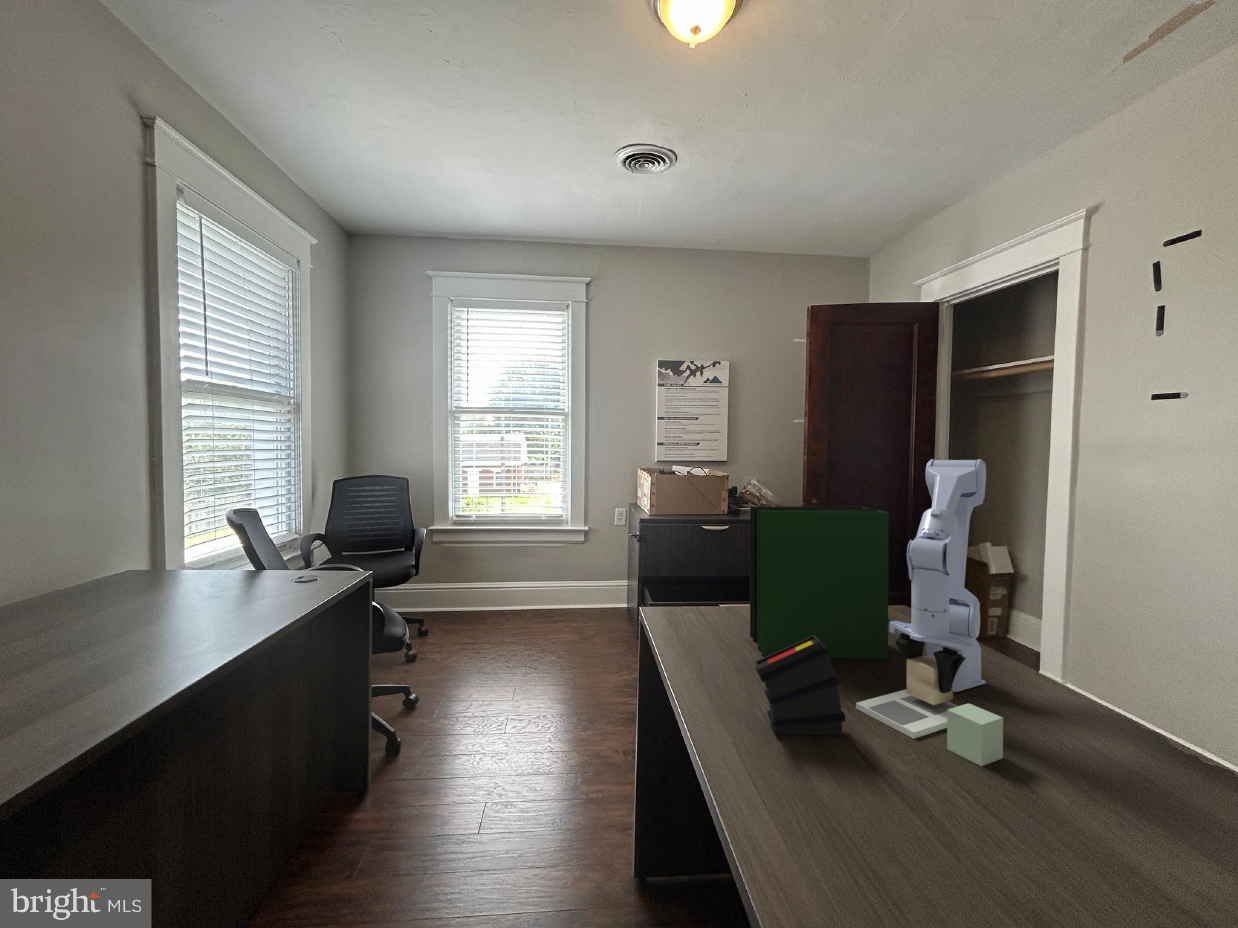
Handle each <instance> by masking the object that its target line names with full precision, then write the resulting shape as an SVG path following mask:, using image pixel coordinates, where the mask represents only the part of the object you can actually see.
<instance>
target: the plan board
mask: <svg viewBox="0 0 1238 928" xmlns="http://www.w3.org/2000/svg"><path fill="white" fill-rule="evenodd" d="M958 706H959V705H958V704H957V705H956V704H954V703H953V702H950V701H946V702H942V703H939V704H936V705H932V704H930V703H928V702H925V701H923V700H921V699H919V698H916V697H914V696H912V695H910V694H907V688H906V689H902V690H898V691H894V692H891V693H888V694H884V695H880V696H876V697H873V698H868V699H866V700H862V701H859V702H856V703H855V709H856V710H858V711H860V712H862V713H864V714H866V715H867V716H870V717H872V718H873V719H876V720H877V721H879V722H881V723H883V724H885V725H887V726H888V727H891V728H893V729H894V730H896V731H898V732H900V733H902V734H904V735H906V736H908V737H909V738H911V739H917V738H920V737H923V736H926V735H929V734H932V733H935V732H938V731H941V730H944V729H947V710H948V709H951V708H954V707H958Z"/></svg>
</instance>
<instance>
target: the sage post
mask: <svg viewBox="0 0 1238 928" xmlns="http://www.w3.org/2000/svg"><path fill="white" fill-rule="evenodd" d="M957 706H958V707H954V708H951V709H948V710H947V728H946V739H947V740H946V741H947V742H946V747H947V748H946V749H947V750H949V751H951V752H952V753H954V754H956V755H958V756H960V757H962V758H964V759H967V760H969V761H970V762H972V763H974V764H977V765H978V766H980V767H984V766H986V765H988V764H991V763H993V762H996V761H999V760H1001V759H1003V757H1004V717H1002V716H1000V715H998V714H995V713H993V712H990V711H988V710H986V709H983V708H982V707H979V706H975V705H974V704H971V703H966V704H961V705H957Z"/></svg>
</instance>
